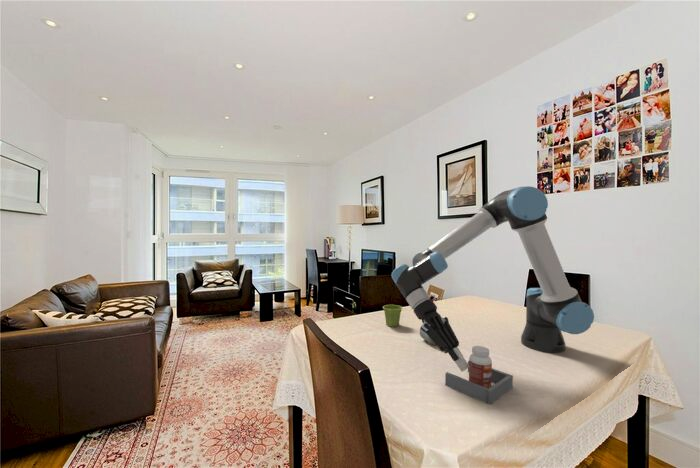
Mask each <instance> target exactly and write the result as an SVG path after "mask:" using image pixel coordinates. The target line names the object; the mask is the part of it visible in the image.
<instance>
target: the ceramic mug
mask: <svg viewBox="0 0 700 468" xmlns="http://www.w3.org/2000/svg"><path fill="white" fill-rule="evenodd" d="M422 326H423V323H422V324H421V325H420V327H419V336H420V337H421V338H422V339H423V340H425V341H426V342H427V343H429V344H431V345H434V346H437V345H436V344H435V343H434V342H433V341H432V340H431V338H430V337H429V336H428V335H427V334H426V333H425V332H424V331H422V330H421V327H422Z"/></svg>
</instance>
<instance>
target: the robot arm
mask: <svg viewBox="0 0 700 468" xmlns="http://www.w3.org/2000/svg"><path fill="white" fill-rule="evenodd" d="M548 208H549V202H548V198H547V196H546V195H545V193H544V192H543V191H542V190H541V189H539V188H537V187H534V186H530V185H529V186H518V187H516V188H512V189H508V190H504V191H502V192H501V193H498V194H497V195H496V196H494V197H493V198H492V199H490V200H489V201H488V202H487V203H485V204H484V205H482V206H481V207H480V208H479V209H478V212H477V213H475V214H474V215H472V216H471V217H470V218H468V219H467V220H466V221H464V222H463V223H462V224H460V225H459V226H457V227H456V228H455V229H453V230H451V231H450V232H449V233H447V234H446V235H444V236H443V237H441V238H440V239H439V240H437V241H436V242H435V243H433V244H432V245H430V246H429V247H428V248H426V249H424V250H423V251H421V252H418V253H416V254H414V256H413V257H412V260H411V263H412V265H411V266H409V265H407V264H401V265H398V266H397V267H395V268H394V269H393V271H392V272H391V279H392V280H393V282H394V283H395V285H396V287H397V288H398V291H400V293H401V295H402V296H403V298H404V299H405V300H406V302H407V303H408V305H409V307H410V308H411V310H413V313H414V315H415V316H416V318H417V319H418V320H419V321H420V320H421V322H422V324H423V326H422V327H421V326H420V327H421V330H422V331H424V332H425V333H426V334H427V335H428V336H429V337H430V338H431V340H432V341H433V342H434V343H435V344H436V345H435V346H437V348H438V349H439V350H440V351H441V352H442V353H443V352H444V354H448V355H449V356H450V358H451V360H452V361H454V363H455V364H456V366H457V367H458V369H459V371H460V372H464V371H466V370H468V368H469V364H468V361H467V360H466V359H465V357H464V355H463V354H462V352H461V351H460V349H459V348H458V347H459V346H460V341H459V339H458V338H457V336H456V334H455V332H454V330H453V328H452V327H451V324H450V321H449V318H448V317H447V316H445V317H443V316H441V314H440V313H438V311H437V310H438V307H437V305H436V304H435V302H434V301H433V299H431V296H430V294H429V293H428V292H427V291H426V289H425V288H424V287H423V284H425V283H427V282H430V280H432V279H433V278H435V277H436V276H437V277H438V275H440V274H442V273H443V272H445V270H447V269H448V268H449V265H448V262H447V261H446V260H447V258H449V257H450V256H452V255H453V254H455V253H456V252H457V251H459V250H460V249H462V248H464V246H466V245H467V244H469V243H470V242H473V240H474V239H476V238H477V237H479V236H481V235H482V234H484V233H485V232H486V231H488V230H489V229H490V228H493V229H495V228H497V227H498V226H500V225H502V224H504V223H507V222H508V223H509V226H510V228H511V230H512V231H513V232H516V233H517V234H518V235H519V238H520V241H521V243H522V245H523V248H524V250H525V252H526V254H527V258H528V260H529V262H530V266H531V267H532V269H533V272H534V274H535V277H536V280H537V282H538V285H539V287H529V288H528V289H527V290H526V296H525V298H526V304H525V305H526V306H525V307H526V308H525V310H526V313H525V314H526V315H525V317H526V319H525V320H526V321H525V325H524V329H523V331H522V332H521V335H520V342H521V344H522V345H524V346H525V347H527V348H530V349H532V350H537V351H541V352H547V353H563V352H565V351H566V342H565V338H564V335H563V333H568V334H570V335H580V334H583V333H585V332H587V331H588V330H589V329H590V328H591V325H592V324H593V323H594V321H595V320H594V319H595V314H594V311H593V309H592V306H590V305H588V303H586V302H583V301H582V299H581V297H580V295H579V292H578V290H577V289H576V288H574V287H573V286H572V287H571V285H570V283H569V282H568V279H567V277H566V274H565V271H564V269H563V266H562V264H561V261H560V258H559V256H558V255H557V251H556V249H555V247H554V245H553V242H552V240H551V237H550V235H549V232H548V230H547V227H546V225H545V223H546V222H547V221H548V216H547V210H548ZM564 350H565V351H564ZM562 351H563V352H562Z"/></svg>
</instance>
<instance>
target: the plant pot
mask: <svg viewBox="0 0 700 468" xmlns="http://www.w3.org/2000/svg"><path fill="white" fill-rule="evenodd" d="M382 309H383V312H384V317H385V323H386V326H387V325H388V327H393V326H396V327H398V326H399V325H400V320H401V313H402V309H403V306H402V305H399V304H398V305H397V304H386V305H383V306H382Z"/></svg>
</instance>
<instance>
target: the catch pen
mask: <svg viewBox="0 0 700 468" xmlns="http://www.w3.org/2000/svg"><path fill="white" fill-rule="evenodd" d="M467 363H468V364H469V360H468V361H467ZM467 372H468V373H469V368H467ZM513 377H514V376H513V374H510V373H507V372H504V371H501V370H499V369H495V368H492V374H491V382H494V383H495V384H493V385H491V387H490V388H489V389H488V388H485V387H483V386H480V385H478V384H475V383H473V382H470V381H469V379H468V380H467V379H465V378H462V377H461V376H458V375H455V374H453V373H451V372H445V377H444V378H445V380H444V382H445V383H444V384H445V386H448V387H450V388H451V389H452V388H453V390H456V391H458V392H461V393H463V394H465V395H468V396H469V397H472V398H474V399H477V400H479V401H481V402H483V403H485V404H488V405H492V404H493V403H494V402H495V401H497V400H498V399H500V397H502V396H503V395H504V394H506V393H507V392H509V391H510V390H511V389H512V388H514V387H513V386H514V385H513V383H514V381H513V380H514V379H513Z"/></svg>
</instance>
